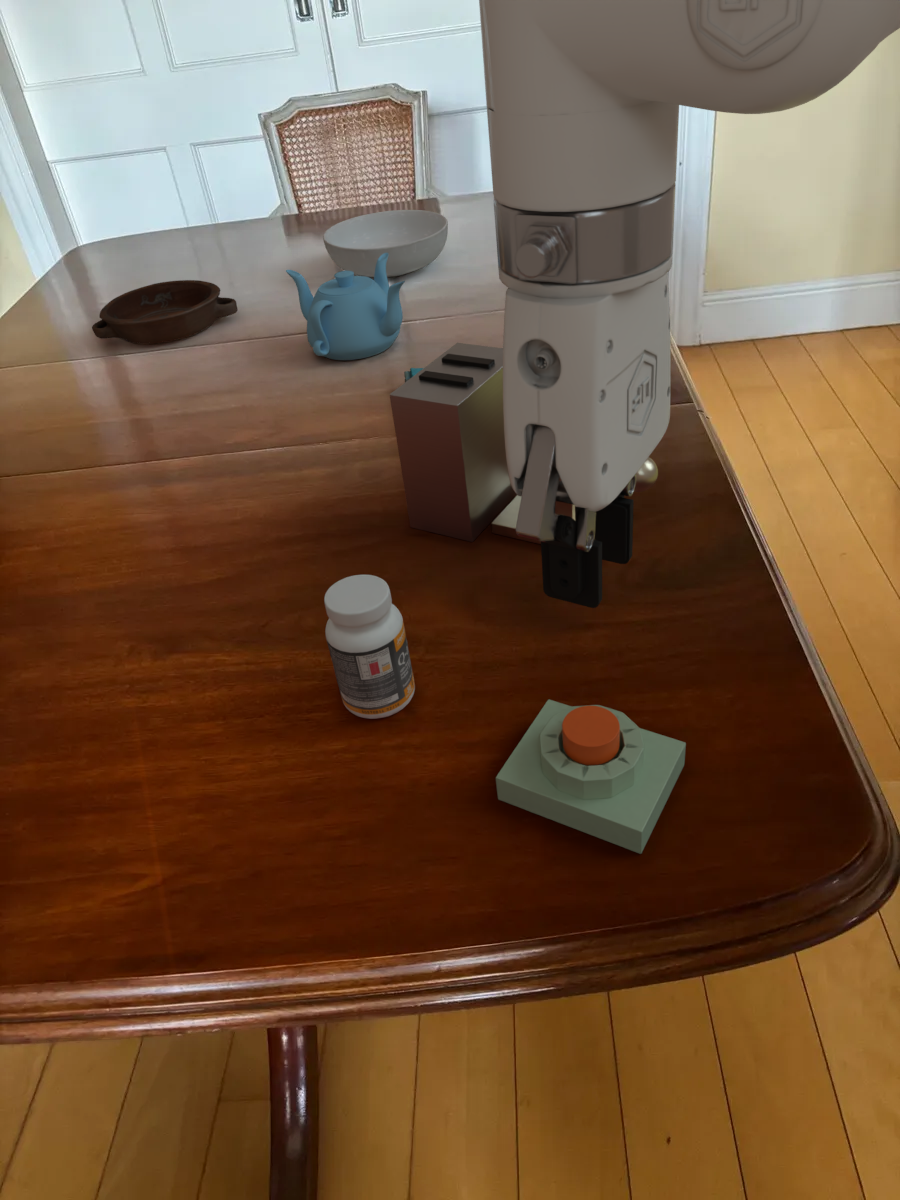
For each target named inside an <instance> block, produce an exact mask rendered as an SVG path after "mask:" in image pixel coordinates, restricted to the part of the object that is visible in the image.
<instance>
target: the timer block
mask: <svg viewBox="0 0 900 1200" xmlns="http://www.w3.org/2000/svg"><path fill="white" fill-rule="evenodd" d="M583 706H584V705H574V706H573V705H568V704H565V703H562V702H560V701H555V700H553V699H550V698H549V699H547V700H546V701H545V704H544V705H543V706H542V708H541V709H540V710H539V713H538V714H537V715H536V717H535V718H534V720H533V721H532V723H531V724H530V726H529V727H528V728H527V730H526V732H525V733H524V734H523V736H522V737H521V739H520V741H519V742H518V744H517V745H516V747H515V748H514V750H513V751H512V752H511V754H510V755H509V757H508V759H507V760H506V761H505V763H504V764H503V766H501V769H500V770H499V772H498V773H497V775H496V776H495V785H496V794H497V795H496V796H497V800H498V801H501V802H503V803H507V804H508V805H512V806H515V807H517V808H520V809H522V810H525V811H527V812H530V813H532V814H535V815H538V816H541V817H543V818H545V819H548V820H551V821H554V822H555V823H558V824H560V825H564V826H566V827H569V828H572V829H575V830H577V831H579V832H582V833H585V834H587V835H590V836H593V837H595V838H598V839H600V840H603V841H605V842H608V843H611V844H614V845H616V846H618V847H622V848H624V849H626V850H628V851H631V852H633V853H636V854H639V855H641V854H643V851H644V850H645V847H646V845H647V843H648V841H649V839H650V837H651V835H652V833H653V830H654V829H655V827H656V824H657V823H658V820H659V819H660V816H661V814H662V812H663V811H664V808H665V805H666V804H667V801H668V800H669V798H670V795H671V794H672V791H673V790H674V788H675V786H676V783H677V781H678V779H679V777H680V775H681V773H682V771H683V769H684V767H685V763H686V749H687V748H686V747H687V743H686V741H682V740H678V739H676V738H672V737H669V736H666V735H662V734H660V733H656V732H654V731H650V730H648V729H644V728H641V727H639V726H638V725H637V724H636V723H635V722H634V721H633V720H632V719H631V718H630V717H628V716H627V715H626V714H625V713H624V712H622V711H620V710H617V709H613V708H611V707H607V706H604V705H600V704H589V705H587V704H586V705H585V706H598V707H602V708H605V709H607V710H609V711H610V712H612V713H613V714H614V715H615V716H616V718H617V719H618V721H619V725H620V742H619V750H618V752H617V754H616V755H615V757H614V758H612V759H611V760H610V761H608V762H606V763H603V764H600V765H584V764H580V763H578V762H576V761H574V760H572V759H571V758H570V757H569V756H568V755H567V754H566V753H565V751H564V748H563V734H562V723H563V720H564V718H565V717H566V715H567V714H568V713H569V712H571V711H572V710H574V709H576V708H579V707H583Z"/></svg>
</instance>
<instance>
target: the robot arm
mask: <svg viewBox="0 0 900 1200" xmlns="http://www.w3.org/2000/svg"><path fill="white" fill-rule="evenodd" d="M478 4H479V5H478V7H479V20H480V33H481V47H482V60H483V61H482V62H483V74H484V75H483V77H484V88H485V104H486V115H487V116H486V117H487V128H488V129H487V131H488V140H489V141H488V143H489V155H490V157H489V158H490V168H491V169H490V171H491V181H492V182H491V183H492V194H493V212H494V213H493V214H494V227H495V228H494V229H495V240H496V254H497V255H496V256H497V268H498V279H499V280H500V283H502V285H504V286H505V287H506V288H507V289H506V291H505V297H504V299H505V300H504V301H505V302H504V315H503V335H502V336H503V341H502V348H503V416H504V436H505V450H506V460H507V467H508V474H509V479H510V483H511V486H512V488H513V490H514V491H515V493H516V494H517V495H518V496H521V502H520V507H519V513H518V518H517V524H516V534H517V535H518V536H521V537H526V538H530V539H534V540H537V541H541V544H540V552H541V571H542V573H541V574H542V591H543V593H544V594H545V595H546V596H547V597H549V598H552V599H557V600H560V601H564V602H567V603H571V604H575V605H580V606H583V607H588V608H590V609H591V608H592V609H596V608H598V607H599V605H600V603H601V602H602V601H603V561H607V562H611V563H614V564H620V565H626V564H628V563H629V562H630V560H631V559H632V557H633V545H634V544H633V543H634V542H633V539H634V533H633V532H634V499H633V498H632V499H631V498H630V497H632V496H633V495H634V493H635V491H634V490H635V486H636V473H637V471H638V470H639V469H640V467H641V466H642V465H643V463H644V462H645V461H646V460H647V458H648V457H650V456H651V454H652V453H653V452H654V450H656V448H657V446H658V445H659V444H660V442H661V440H662V439H663V438H664V436H665V434H666V433H667V430H668V427H669V423H670V420H671V419H670V418H671V387H672V386H671V379H672V378H671V377H672V375H671V372H672V371H671V369H672V368H671V363H672V362H671V358H672V357H671V353H672V352H671V306H670V288H669V277H668V273H669V272H670V270H671V269H672V265H673V253H674V251H673V249H674V227H675V205H676V204H675V203H676V181H677V165H678V164H677V163H678V142H679V139H678V138H679V118H680V117H679V115H680V106H683V107H689V108H692V109H693V108H694V109H700V110H706V111H712V112H719V113H727V114H737V115H738V114H741V115H763V114H770V113H777V112H783V111H786V110H790V109H794V108H796V107H800V106H803V105H805V104H807V103H810V102H811V101H813V100H816V99H817V98H819V97H821V96H822V95H824V94H825V93H827V92H828V91H831V90H832V89H833V88H835V87H836V86H838V84H840V83H841V82H843V80H845V79H846V78H847V77H849V75H851V73H853V72H854V70H856V69H857V68H858V66H859V65H861V63H863V61H864V60H865V59H866V58H868V57H869V55H870V54H872V53H873V52H874V51H875V49H876V48H877V47H878V46H879V45H880V43H882V42H883V41H884V40H885V39H887V38H888V37H889V36H891V35H892V34H893V33H895V32H896V31H898V30H899V29H900V0H478ZM560 478H561V480H562V481H559V479H560ZM517 495H516V496H517ZM627 497H629V498H627ZM556 501H559V502H564V503H568V504H573V505H575V520H574V519H573V518H571V517H570V516H565V515H561V514H556V513H555V506H556Z"/></svg>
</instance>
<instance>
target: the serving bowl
mask: <svg viewBox="0 0 900 1200" xmlns="http://www.w3.org/2000/svg"><path fill="white" fill-rule="evenodd" d="M448 232H449V221H448V219H447V217H446V216H444V215H443V214H440V213H438V212H436V211H432V210H425V209H394V210H393V209H392V210H383V211H379V212H378V211H377V212H371V213H367V214H361V215H358V216H353V217H351V218H348V219H345V220H343V221H340V222H337V223H336V224H334V225H332V226H330V227H329V228H327V229H326V230H325V231H324V233H323V236H322V240H323V243H324V247H325V249H326V252H327V254H328V256H329V258H330V259H331V261H332V262H333V263H334V264H336V265H337V266H338V267H339V268H340V269H342V271H353V272H354V276H365V277H369V278H374V274H375V267H376V263H377V260H378V258H379V257H380V256H381V255H382V254H384V253H388V254H389V255H388V259H387V262H386V274H387V279H389V278H395V277H396V278H397V277H400V276H405V275H407V274H409V273H412V272H415V271H417V270H420V269H423V268H424V267H427V266H428V265H430V264H431V263H432V262H434V261H435V260H436V259H437V258H438V257H439V256H440V254H441V253H442V252H443V249H444V247H446V246H445V245H446V244H447V243H446V242H447V239H448V234H449V233H448Z"/></svg>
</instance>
